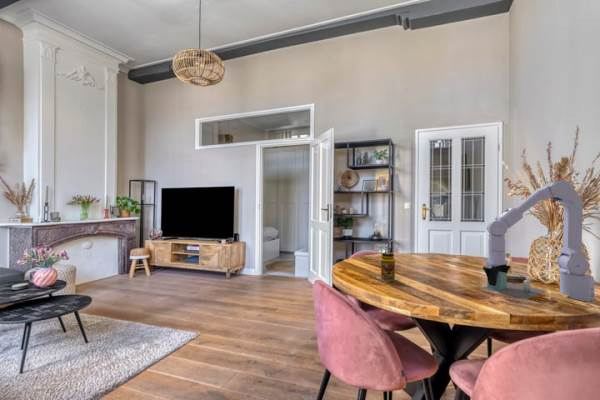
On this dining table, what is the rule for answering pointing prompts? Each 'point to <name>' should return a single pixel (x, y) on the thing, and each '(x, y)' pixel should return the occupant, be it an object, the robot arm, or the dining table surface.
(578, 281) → the robot arm
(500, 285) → the teal block
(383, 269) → the condiment
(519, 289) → the post board
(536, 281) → the dining table surface
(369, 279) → the dining table surface
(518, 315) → the dining table surface
